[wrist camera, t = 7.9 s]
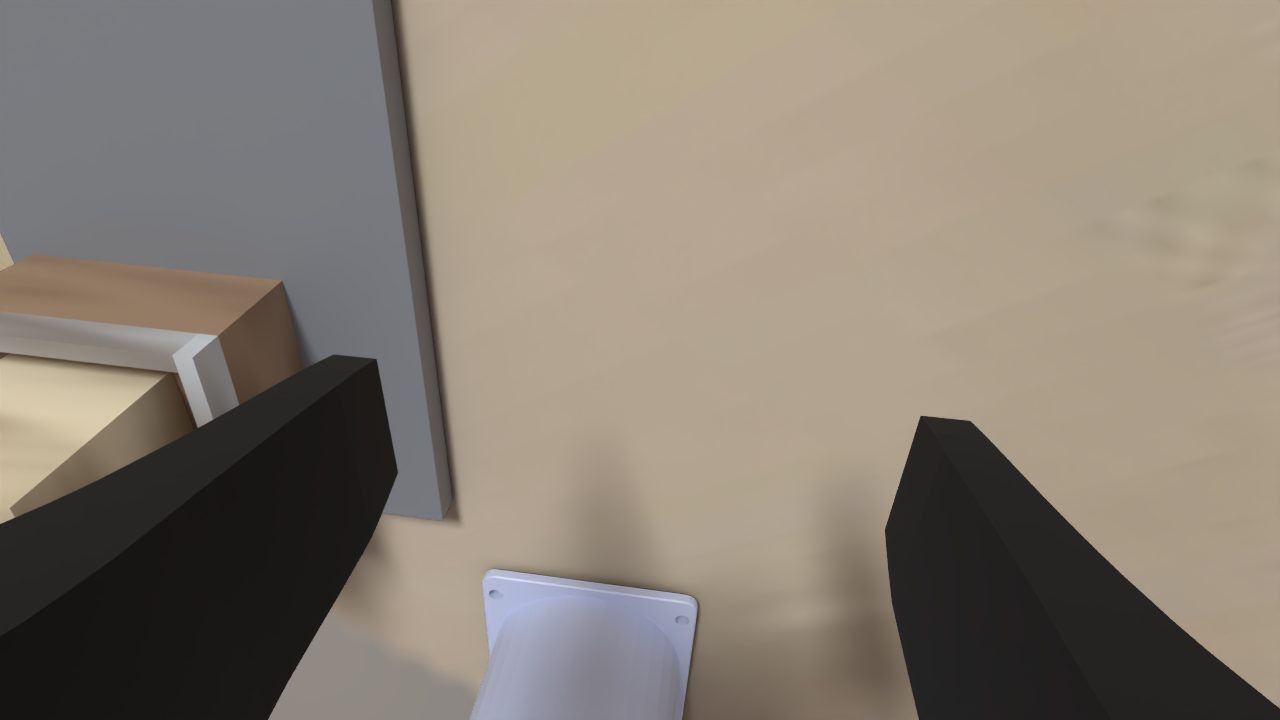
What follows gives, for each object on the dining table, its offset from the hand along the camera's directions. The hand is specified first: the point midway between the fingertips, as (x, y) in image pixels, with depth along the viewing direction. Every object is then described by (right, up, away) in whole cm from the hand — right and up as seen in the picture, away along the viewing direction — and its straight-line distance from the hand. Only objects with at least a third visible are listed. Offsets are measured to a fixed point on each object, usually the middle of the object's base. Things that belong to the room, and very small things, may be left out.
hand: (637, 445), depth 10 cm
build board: (-12, +4, +12) cm, 17 cm away
